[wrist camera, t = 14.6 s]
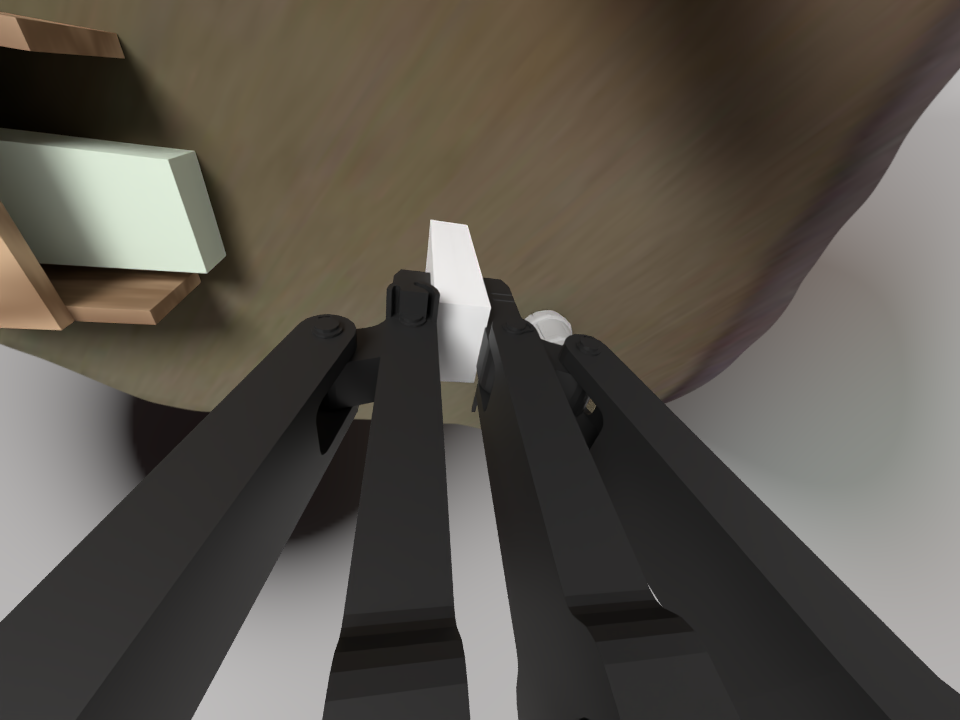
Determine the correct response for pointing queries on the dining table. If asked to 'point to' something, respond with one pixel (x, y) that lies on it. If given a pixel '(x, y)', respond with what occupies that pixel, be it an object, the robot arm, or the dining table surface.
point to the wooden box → (68, 288)
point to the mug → (551, 326)
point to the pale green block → (108, 203)
